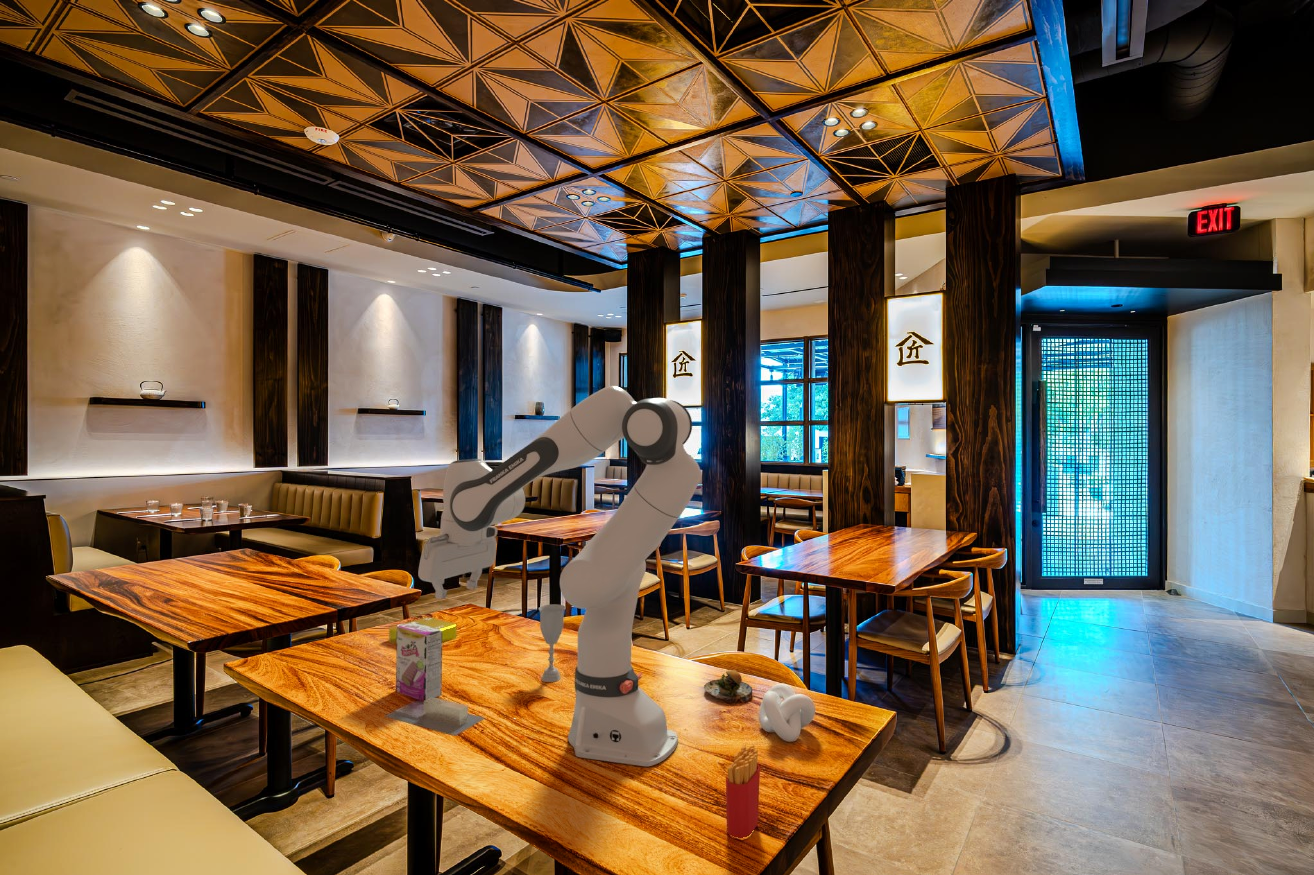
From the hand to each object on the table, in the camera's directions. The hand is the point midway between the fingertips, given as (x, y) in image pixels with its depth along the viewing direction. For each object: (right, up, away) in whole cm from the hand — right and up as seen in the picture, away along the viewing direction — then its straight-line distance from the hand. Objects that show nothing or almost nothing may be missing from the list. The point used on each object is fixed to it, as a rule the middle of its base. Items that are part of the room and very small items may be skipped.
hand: (456, 593), depth 137 cm
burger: (+62, -28, +14) cm, 69 cm away
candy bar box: (-12, -27, +9) cm, 31 cm away
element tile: (-27, -28, +52) cm, 65 cm away
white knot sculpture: (+71, -28, -7) cm, 76 cm away
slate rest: (-4, -27, -4) cm, 27 cm away
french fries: (+58, -27, -40) cm, 75 cm away
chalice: (+17, -28, +22) cm, 39 cm away
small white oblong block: (-4, -26, -3) cm, 26 cm away
